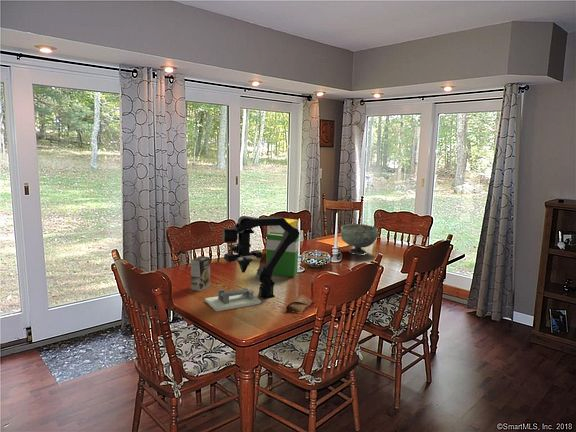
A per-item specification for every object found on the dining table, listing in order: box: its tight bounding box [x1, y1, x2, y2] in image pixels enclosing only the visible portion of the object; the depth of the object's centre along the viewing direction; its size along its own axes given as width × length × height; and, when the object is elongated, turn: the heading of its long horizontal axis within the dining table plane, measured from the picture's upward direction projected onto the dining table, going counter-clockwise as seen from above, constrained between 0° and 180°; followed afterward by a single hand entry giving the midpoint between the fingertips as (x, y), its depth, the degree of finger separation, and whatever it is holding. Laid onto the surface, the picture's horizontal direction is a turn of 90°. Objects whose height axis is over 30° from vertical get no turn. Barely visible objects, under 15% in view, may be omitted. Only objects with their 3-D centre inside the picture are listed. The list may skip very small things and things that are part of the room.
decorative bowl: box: [340, 223, 379, 254], centre depth 308 cm, size 26×26×20 cm
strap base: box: [204, 287, 262, 312], centre depth 205 cm, size 23×14×6 cm, turn 122°
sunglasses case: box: [285, 293, 313, 312], centre depth 204 cm, size 18×7×7 cm, turn 157°
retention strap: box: [220, 287, 252, 297], centre depth 206 cm, size 15×5×1 cm, turn 122°
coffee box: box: [190, 255, 211, 292], centre depth 223 cm, size 9×6×16 cm
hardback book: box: [265, 232, 300, 278], centre depth 252 cm, size 18×7×24 cm, turn 75°
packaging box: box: [266, 217, 299, 247], centre depth 292 cm, size 16×16×25 cm
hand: (243, 272), depth 211 cm, fingers closed
